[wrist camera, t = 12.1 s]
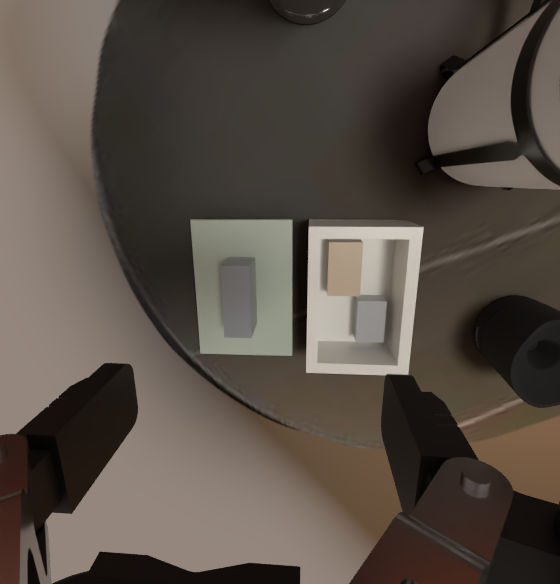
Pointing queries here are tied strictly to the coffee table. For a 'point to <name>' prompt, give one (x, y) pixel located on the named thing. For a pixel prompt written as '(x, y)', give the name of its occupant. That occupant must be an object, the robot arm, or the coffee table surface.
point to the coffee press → (502, 109)
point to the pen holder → (523, 347)
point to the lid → (244, 285)
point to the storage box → (361, 295)
